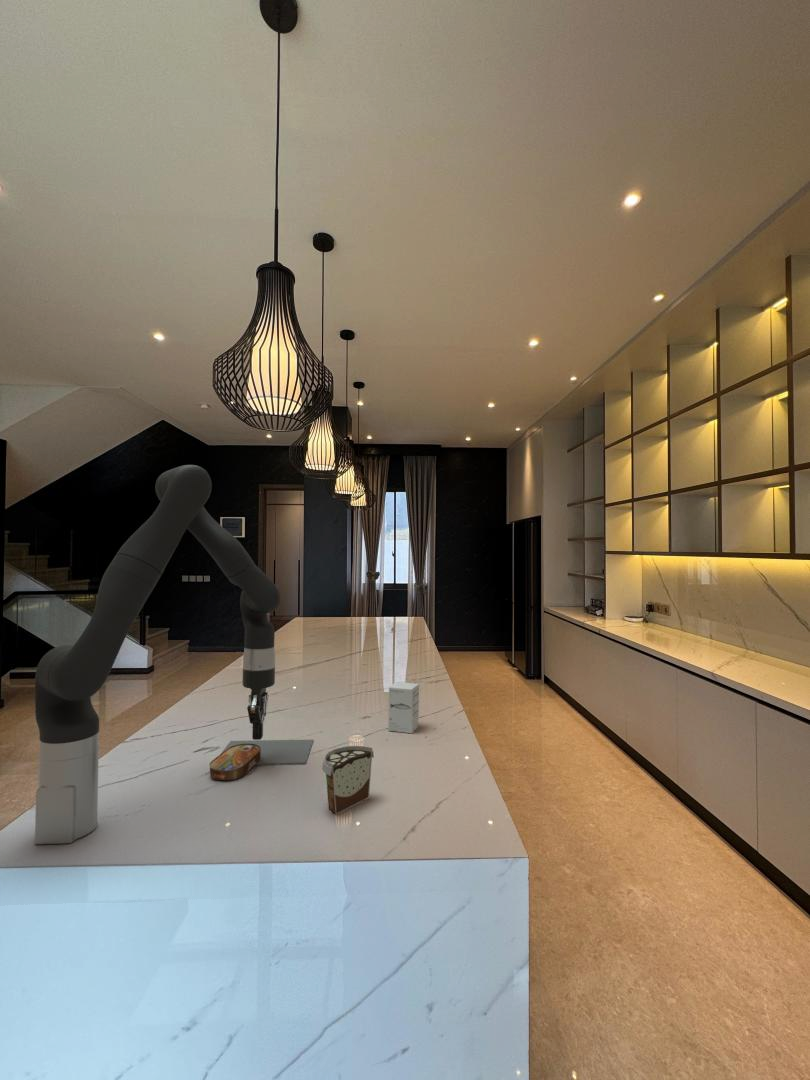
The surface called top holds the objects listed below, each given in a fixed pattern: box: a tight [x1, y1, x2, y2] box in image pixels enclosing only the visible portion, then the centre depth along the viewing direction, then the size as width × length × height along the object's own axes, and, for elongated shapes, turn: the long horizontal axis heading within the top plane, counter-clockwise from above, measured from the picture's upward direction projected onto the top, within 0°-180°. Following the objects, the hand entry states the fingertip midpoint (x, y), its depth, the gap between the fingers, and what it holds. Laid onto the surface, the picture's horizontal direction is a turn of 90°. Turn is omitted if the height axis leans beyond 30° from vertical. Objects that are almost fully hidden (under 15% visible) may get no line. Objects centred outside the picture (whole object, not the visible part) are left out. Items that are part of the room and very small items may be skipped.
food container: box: [321, 745, 375, 816], centre depth 108 cm, size 12×6×10 cm, turn 141°
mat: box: [220, 739, 314, 766], centre depth 135 cm, size 16×22×1 cm
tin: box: [209, 743, 261, 781], centre depth 125 cm, size 15×3×8 cm
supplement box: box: [387, 681, 420, 734], centre depth 154 cm, size 7×7×13 cm
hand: (257, 738), depth 127 cm, fingers closed
